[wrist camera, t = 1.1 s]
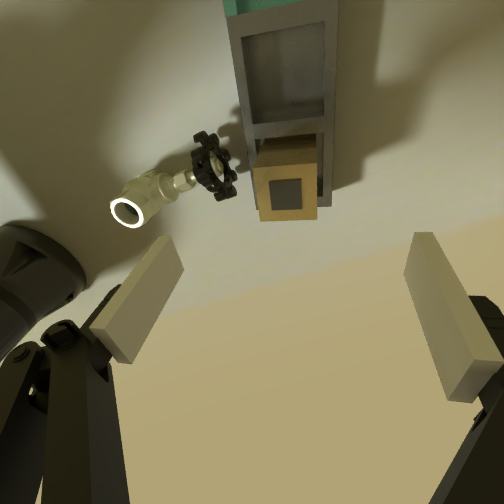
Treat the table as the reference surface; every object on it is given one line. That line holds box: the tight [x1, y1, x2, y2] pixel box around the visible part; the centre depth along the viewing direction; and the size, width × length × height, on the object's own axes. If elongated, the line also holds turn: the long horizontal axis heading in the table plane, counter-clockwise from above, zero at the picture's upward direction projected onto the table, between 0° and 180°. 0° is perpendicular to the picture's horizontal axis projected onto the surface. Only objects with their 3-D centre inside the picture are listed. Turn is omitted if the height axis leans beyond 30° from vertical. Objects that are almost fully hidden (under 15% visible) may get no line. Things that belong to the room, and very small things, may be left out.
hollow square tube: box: [252, 133, 317, 221], centre depth 23 cm, size 5×5×8 cm
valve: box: [110, 131, 237, 229], centre depth 28 cm, size 7×7×12 cm
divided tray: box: [223, 0, 339, 210], centre depth 21 cm, size 7×22×3 cm, turn 8°
